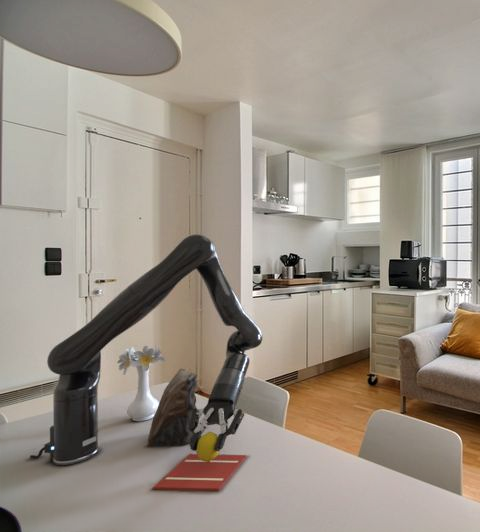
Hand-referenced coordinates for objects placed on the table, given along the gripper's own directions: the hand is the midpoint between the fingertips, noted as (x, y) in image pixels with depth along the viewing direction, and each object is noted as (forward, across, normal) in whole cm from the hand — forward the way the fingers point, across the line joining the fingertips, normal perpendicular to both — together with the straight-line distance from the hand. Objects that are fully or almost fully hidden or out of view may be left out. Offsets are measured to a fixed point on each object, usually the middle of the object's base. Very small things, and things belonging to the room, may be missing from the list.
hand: (205, 449), depth 95 cm
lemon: (+2, 0, +4) cm, 5 cm away
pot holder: (+4, -1, +5) cm, 6 cm away
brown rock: (-8, -20, +17) cm, 27 cm away
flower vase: (-18, -40, +27) cm, 51 cm away
